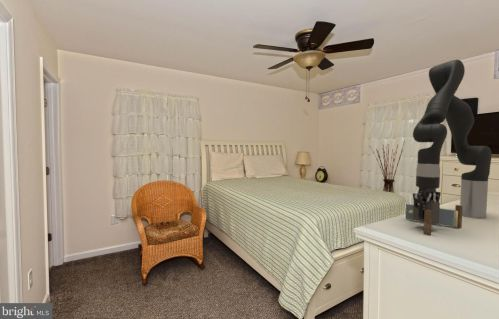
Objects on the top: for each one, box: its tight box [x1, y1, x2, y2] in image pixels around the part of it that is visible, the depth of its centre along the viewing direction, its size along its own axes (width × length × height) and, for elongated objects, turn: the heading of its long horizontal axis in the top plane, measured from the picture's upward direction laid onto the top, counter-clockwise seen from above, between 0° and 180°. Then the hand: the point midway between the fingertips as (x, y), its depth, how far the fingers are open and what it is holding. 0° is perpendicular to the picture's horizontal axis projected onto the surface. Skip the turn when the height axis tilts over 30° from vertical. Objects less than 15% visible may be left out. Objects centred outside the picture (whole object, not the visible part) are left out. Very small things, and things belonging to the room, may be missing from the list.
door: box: [405, 203, 458, 228], centre depth 101 cm, size 18×3×6 cm, turn 48°
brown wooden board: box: [423, 204, 463, 236], centre depth 93 cm, size 21×2×9 cm, turn 113°
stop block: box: [412, 201, 441, 226], centre depth 95 cm, size 4×7×8 cm, turn 23°
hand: (425, 218), depth 95 cm, fingers closed on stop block, 4 cm apart
